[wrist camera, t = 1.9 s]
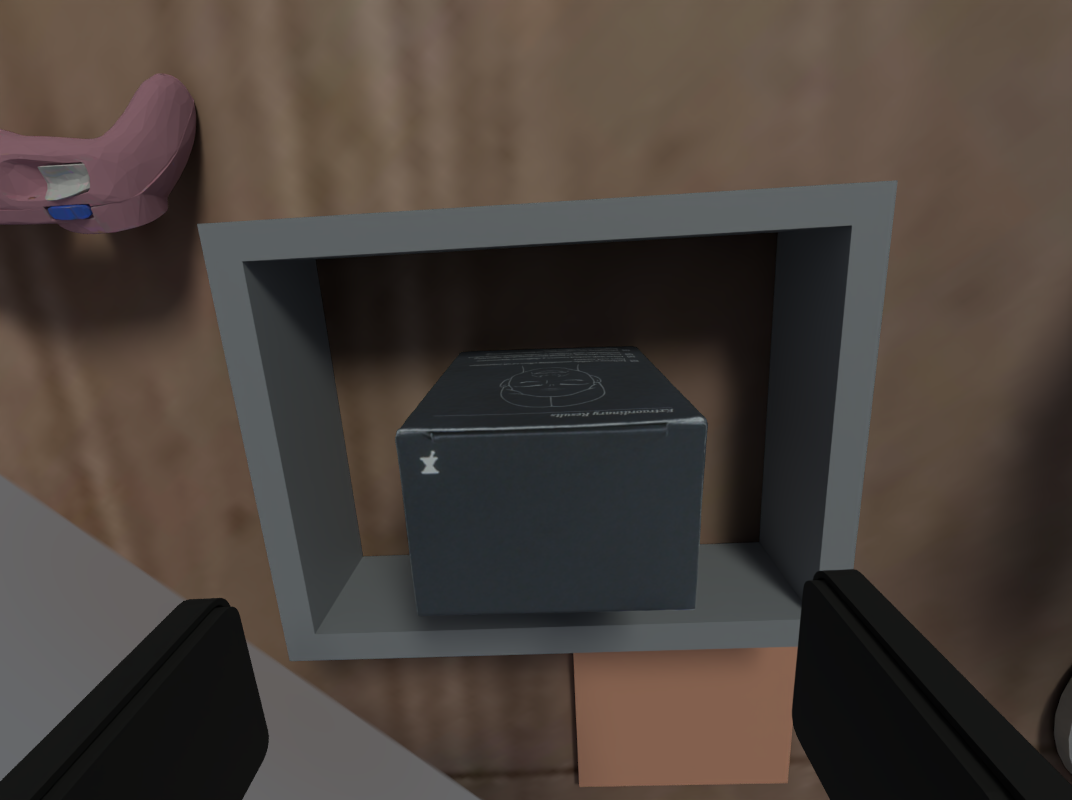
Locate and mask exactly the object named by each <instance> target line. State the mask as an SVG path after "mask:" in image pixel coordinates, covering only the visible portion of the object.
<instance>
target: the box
mask: <svg viewBox="0 0 1072 800" xmlns="http://www.w3.org/2000/svg"><path fill="white" fill-rule="evenodd" d="M707 428H708V423H707V420H706V418H705V417H704V416H703V415H702V414H701V413H700V412H699V411H698V410H697V409H696V408H695V407H694V406H693V405H692V404H691V403H690V401H689V400H687V399H686V398H685V397H684V396H683V395H682V394H681V393H680V392H679V391H678V390H677V389H676V388H675V387H674V386H673V385H672V384H671V382H670V381H669V380H668V379H667V378H666V377H665V376H664V375H663V374H662V373H661V372H660V371H659V370H658V369H657V368H656V367H655V366H654V365H653V364H652V363H651V362H650V361H649V360H648V358H646V356H644V354H643V353H642V352H641V351H640V350H639V349H638V348H637V347H633V346H622V347H586V348H554V349H523V350H497V351H470V352H461V353H459V355H458V356H457V357H456V359H455V360H454V361H453V362H452V364H451V365H450V366H449V367H448V369H447V370H446V371H445V372H444V373H443V375H442V376H441V377H440V379H439V380H438V381H437V382H436V384H435V385H434V386H433V387H432V388H431V390H430V391H429V392H428V393H427V395H426V396H425V397H424V399H423V400H422V401H421V402H420V403H419V405H418V406H417V408H416V409H415V410H414V411H413V412H412V413H411V415H410V416H409V417H408V419H407V420H406V421H405V423H404V424H403V426H402V427H401V428H400V429H398V430H397V433H396V437H395V443H396V448H397V454H398V462H399V469H400V478H401V484H402V494H403V502H404V510H405V519H406V528H407V536H408V543H409V553H410V563H411V571H412V578H413V586H414V593H415V601H416V609H417V614H418V616H441V615H482V614H525V613H573V612H616V611H651V610H694V609H696V597H697V582H698V561H699V546H700V527H701V507H702V494H703V479H704V467H705V455H706V440H707Z"/></svg>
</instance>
